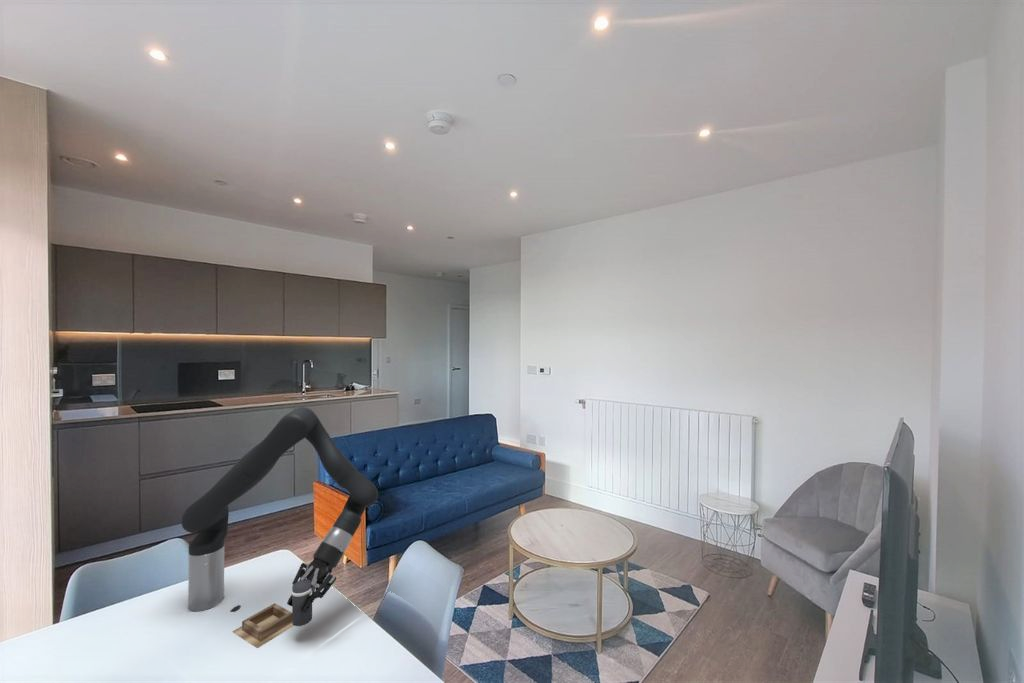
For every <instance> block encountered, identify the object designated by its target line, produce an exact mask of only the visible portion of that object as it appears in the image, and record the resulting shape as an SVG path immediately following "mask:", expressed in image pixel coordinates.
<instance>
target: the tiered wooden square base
mask: <svg viewBox="0 0 1024 683" xmlns="http://www.w3.org/2000/svg"><path fill="white" fill-rule="evenodd" d="M292 627H295V626H294V625H293V624H292V611H289V610H288V609H286V608H285V607H282V605H279V604H277V603H273V604H270V605H269V606H267V607H265V608H264V609H262V610H260V611H258V612H256V613H254V614H253V615H251V616H249V617H247V618H245V619H244V620H242V621H241V626H239V627H237V628H235V629H234V630H232V631H231V633H233V634H234V635H236V636H238V637H239V638H240V639H242V640H244V641H246V642H247V643H249V644H251V645H252V646H253V647H255V648H256V649H259V648H261V647H262V646H264V645H265V644H267V643H269V642H270V641H272V640H273V639H275V638H277V637H278V636H280V635H282V634H283V633H284V632H286V631H288V630H289V629H291V628H292Z"/></svg>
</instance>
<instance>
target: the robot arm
mask: <svg viewBox="0 0 1024 683" xmlns="http://www.w3.org/2000/svg"><path fill="white" fill-rule="evenodd" d="M304 439H306V441H308V443H310V444H311V445H312V446H313V448H314V450H315V451H316V453H317V455H318V457H319V460H320V462H321V464H322V466H323V468H324V471H325V472H326V473H327V474H328V476H329V477H330V478H331V479H332V480H333V481H334V482H335V483H336V485H338V486H339V487H340V488H342V489H345V490H346V491H347V492H348V493H349V496H348V498H347V500H346V501H345V504H344V506H343V508H342V511H341V513H340V514H339V515H338V517H337V518H336V520H335V521H334V523H333V525H332V527H331V528H330V530H328V532H327V533H326V534H325V536H324V538H323V539H322V541H321V542H320V544H319V546H318V547H317V549H316V550H315V552H314V554H313V555H312V556H313V560H312V561H311V562H309V563H305V562H302V563H301V564H300V566H299V568H298V570H297V573H296V575H295V576H294V580H293V581H292V582H291V583H292V586H293V585H294V584H295V583H296V582H298V581H300V580H305V579H308V580H311V581H312V583H311V590H310V592H309V596H307V597H306V599H305V600H304V602H303V604H302V605H301V607H300V609H299V611H301V612H303V613H306V612H307V611H308V610H309V608H310V606H311V605H312V606H313V603H314V601H315V600H316V599H319V598H320V599H323V597H324V596H325V595H326V594H327V592H328V591H329V589H330V588H331V587H332V586H333V584H334V583H335V582H336V580H337V577H336V576H335V575H333V574H332V571H333V569H334V568H336V567H337V566H338V565H339V563H340V561H341V559H342V557H343V556H344V554H345V553H346V551H347V549H348V548H349V546H350V544H351V542H352V539H353V537H354V535H355V534H356V532H357V530H358V528H359V527H360V525H361V522H362V516H363V514H364V511H366V509H367V507H370V506H372V505H374V504H376V502H377V501H378V497H379V491H378V488H377V486H376V485H375V484H374V483H373V482H372V481H371V480H370V479H369V478H367V477H366V476H365V475H364V474H362V473H361V472H359V471H358V469H357V468H356V467H355V465H353V464H352V463H351V461H350V460H349V459H348V458H347V457H346V456H345V455H344V453H343V452H342V451H341V450H340V448H339V447H338V446H337V445H336V442H334V440H333V439H332V438H331V436H330V435H329V432H327V430H326V428H325V427H324V425H323V423H322V422H321V420H320V418H319V417H318V416H317V415H316V413H315V412H314V411H313V410H312V409H310V408H308V407H305V406H304V407H300V406H299V407H297V408H295V409H293V410H292V411H290V412H288V413H286V414H285V415H284V416H283V417H282V418H280V419H279V421H278V422H277V423H276V425H275V426H274V427H273V428H272V430H271V431H270V432H269V433H268V434H267V436H266V437H264V439H262V441H260V442H259V443H258V444H256V445H255V446H254V447H253V448H251V449H250V450H249V451H248V452H246V453H245V454H244V455H243V456H242V457H241V458H239V460H238V461H236V462H235V464H234V465H232V467H230V469H229V470H228V471H227V472H226V473H225V474H224V475H223V476H221V478H219V479H218V480H217V482H216V483H215V484H214V485H213V486H212V487H211V488H210V489H209V490H208V491H206V493H204V494H203V495H202V496H200V497H199V498H198V499H197V500H196V501H194V502H193V503H191V504H190V505H189V506H187V508H186V509H185V511H184V512H183V514H182V517H181V521H180V522H181V525H182V529H183V530H184V531H185V532H188V533H190V534H196V535H195V537H194V538H193V539H192V540H191V541H190V542H189V544H188V587H187V588H188V595H187V596H188V598H187V599H188V600H187V602H188V604H187V605H188V606H187V608H188V610H189V611H191V612H202V611H206V610H209V609H211V608H214V607H215V606H218V605H219V604H220V603H222V601H223V600H224V598H225V540H226V538H227V535H228V530H229V516H230V515H229V514H230V513H229V511H230V510H229V505H230V504H232V503H233V502H235V501H236V500H237V499H239V498H240V497H242V496H244V495H245V494H246V493H247V492H249V491H251V490H252V489H253V488H254V487H256V486H257V485H258V484H259V483H261V481H262V480H263V479H264V478H265V477H266V476H267V475H268V474H269V473H270V472H271V470H272V469H273V468H274V466H275V465H276V464H277V462H278V461H279V459H280V458H281V457H282V456H283V455H284V454H285V453H286V452H288V451H289V450H291V448H292V447H294V446H296V444H298V443H300V442H301V441H303V440H304ZM286 605H288V606H290V607H292V594H290V596H289V598H288V600H287V602H286Z"/></svg>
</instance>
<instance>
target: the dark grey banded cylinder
mask: <svg viewBox="0 0 1024 683" xmlns="http://www.w3.org/2000/svg"><path fill="white" fill-rule="evenodd" d="M299 580H300V579H299ZM299 580H298V582H296V583H295V584H294V585H293V584H292V586H291V595H292V606H291V607H292V608H291V612H292V624H293V625H294V626H293V627H302V626H305V625H308V623H310V622H311V621H312V619H313V604H312V605H311V606H310V608H309V610H308V611H307V612H306V613H303V612H301V611H299V609H300V607H301V605H302V604H303V602H304V600H305V599H306V597H307V596H309V592H310V590H311V583H312V581H311V580H308V579H307V578H306V579H305V580H300V581H299Z"/></svg>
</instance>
